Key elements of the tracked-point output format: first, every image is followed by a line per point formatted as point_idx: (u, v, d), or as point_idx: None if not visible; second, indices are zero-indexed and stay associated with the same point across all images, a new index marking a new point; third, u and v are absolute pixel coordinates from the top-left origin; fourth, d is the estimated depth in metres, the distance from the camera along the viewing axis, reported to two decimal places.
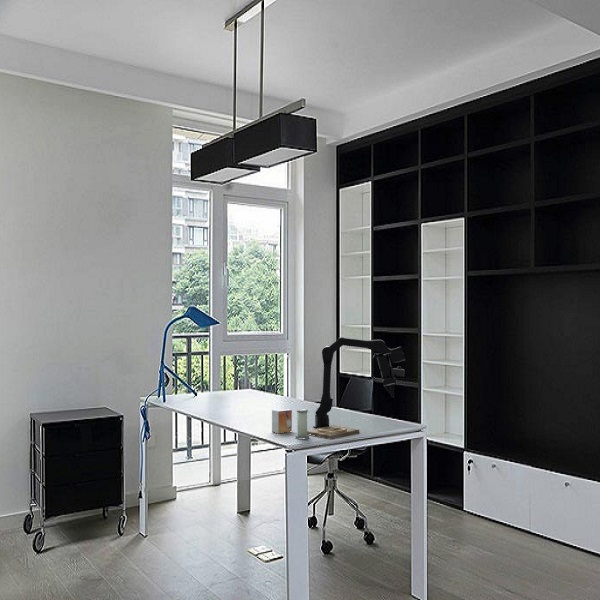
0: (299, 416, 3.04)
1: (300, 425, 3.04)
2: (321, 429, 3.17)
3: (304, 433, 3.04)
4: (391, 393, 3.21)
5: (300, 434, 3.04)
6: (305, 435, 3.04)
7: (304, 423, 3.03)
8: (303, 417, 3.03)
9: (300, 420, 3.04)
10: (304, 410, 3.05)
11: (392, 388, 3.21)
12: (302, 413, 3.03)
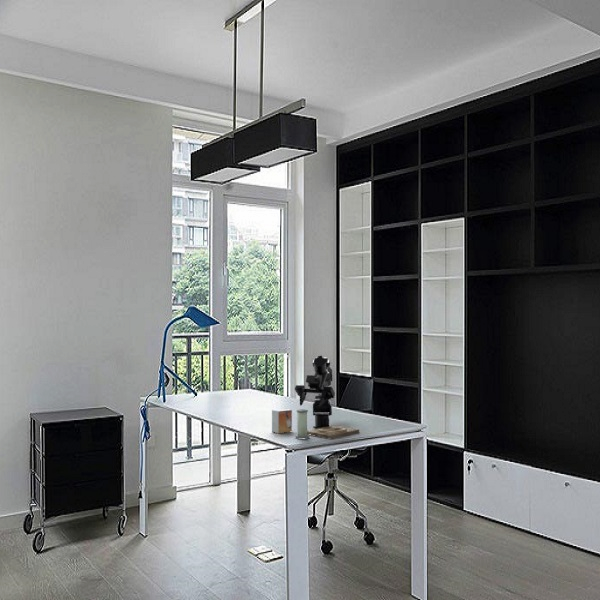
0: (299, 416, 3.04)
1: (300, 425, 3.04)
2: (321, 429, 3.17)
3: (304, 433, 3.04)
4: None
5: (300, 434, 3.04)
6: (305, 435, 3.04)
7: (304, 423, 3.04)
8: (303, 417, 3.03)
9: (300, 420, 3.04)
10: (304, 410, 3.05)
11: None
12: (302, 413, 3.03)
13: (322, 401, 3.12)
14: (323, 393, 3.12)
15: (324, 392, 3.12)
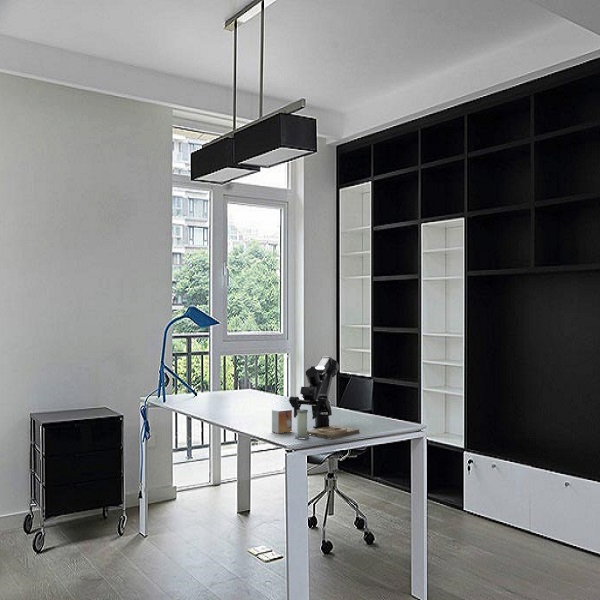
0: (299, 416, 3.04)
1: (300, 425, 3.03)
2: (321, 429, 3.17)
3: (304, 433, 3.04)
4: None
5: (300, 434, 3.03)
6: (305, 435, 3.04)
7: (304, 423, 3.03)
8: (303, 417, 3.03)
9: (300, 420, 3.04)
10: (304, 410, 3.05)
11: None
12: (302, 413, 3.03)
13: (317, 413, 3.06)
14: (318, 405, 3.06)
15: (319, 404, 3.06)
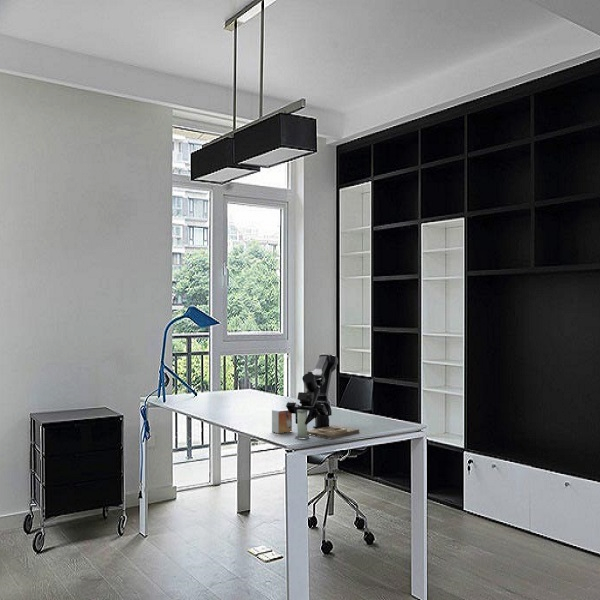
0: (299, 416, 3.04)
1: (300, 425, 3.03)
2: (321, 429, 3.17)
3: (304, 433, 3.04)
4: None
5: (300, 434, 3.03)
6: (305, 435, 3.04)
7: (304, 423, 3.03)
8: (303, 417, 3.03)
9: (300, 420, 3.04)
10: (304, 410, 3.05)
11: None
12: (302, 413, 3.03)
13: (309, 419, 3.05)
14: (310, 410, 3.05)
15: (311, 409, 3.05)
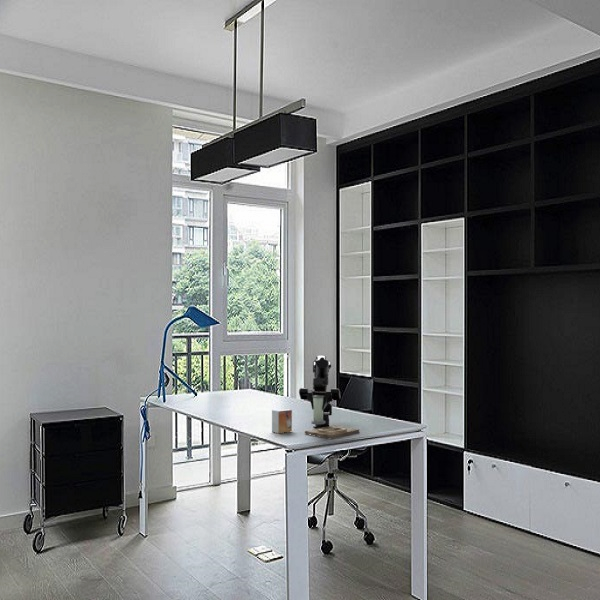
0: (316, 401, 3.06)
1: (317, 410, 3.06)
2: (321, 429, 3.17)
3: (321, 418, 3.06)
4: (311, 405, 3.09)
5: (317, 419, 3.06)
6: (322, 420, 3.07)
7: (321, 408, 3.06)
8: (320, 402, 3.06)
9: (317, 405, 3.06)
10: (320, 395, 3.08)
11: None
12: (320, 398, 3.06)
13: (325, 404, 3.08)
14: (326, 395, 3.09)
15: (327, 394, 3.08)
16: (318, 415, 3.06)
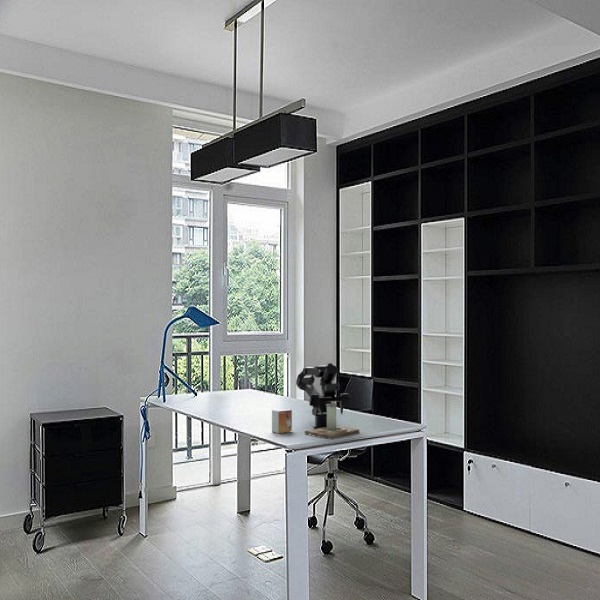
0: (331, 410, 3.11)
1: (332, 419, 3.11)
2: (321, 429, 3.17)
3: (335, 426, 3.12)
4: (319, 410, 3.13)
5: (332, 427, 3.11)
6: None
7: (335, 416, 3.12)
8: (335, 410, 3.12)
9: (332, 414, 3.11)
10: (333, 404, 3.13)
11: None
12: (334, 406, 3.11)
13: None
14: (343, 400, 3.15)
15: (344, 399, 3.15)
16: (333, 423, 3.11)
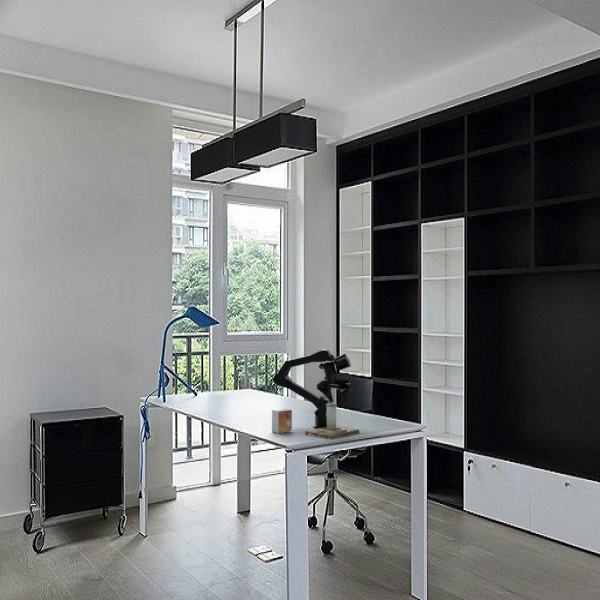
0: (331, 410, 3.11)
1: (332, 419, 3.11)
2: (321, 429, 3.17)
3: (335, 426, 3.12)
4: (328, 397, 3.18)
5: (332, 427, 3.11)
6: None
7: (335, 416, 3.12)
8: (335, 410, 3.12)
9: (332, 414, 3.11)
10: (333, 404, 3.13)
11: (328, 392, 3.18)
12: (334, 406, 3.11)
13: None
14: (347, 390, 3.25)
15: (349, 389, 3.25)
16: (333, 423, 3.11)
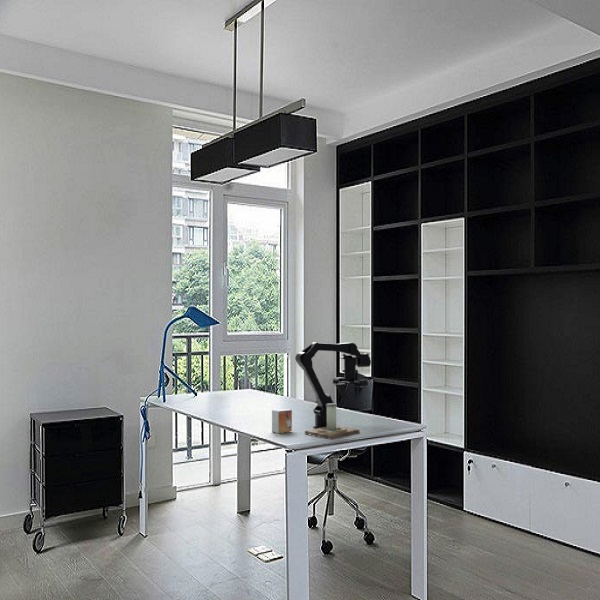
0: (331, 410, 3.11)
1: (332, 419, 3.11)
2: (321, 429, 3.17)
3: (335, 426, 3.12)
4: (358, 395, 3.31)
5: (332, 427, 3.11)
6: None
7: (335, 416, 3.12)
8: (335, 410, 3.12)
9: (332, 414, 3.11)
10: (333, 404, 3.13)
11: (360, 390, 3.32)
12: (334, 406, 3.11)
13: None
14: None
15: None
16: (333, 423, 3.11)
